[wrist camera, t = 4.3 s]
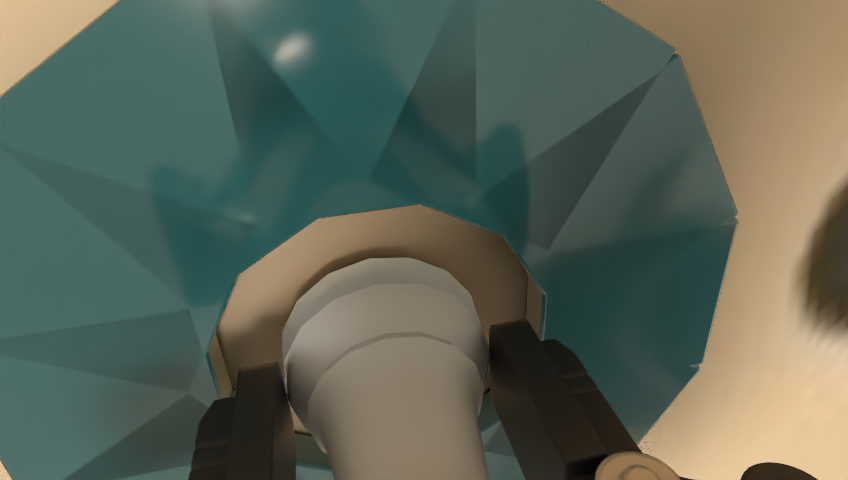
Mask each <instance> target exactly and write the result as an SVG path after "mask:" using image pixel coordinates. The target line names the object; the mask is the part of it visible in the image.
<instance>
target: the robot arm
mask: <svg viewBox="0 0 848 480" xmlns="http://www.w3.org/2000/svg"><path fill="white" fill-rule="evenodd" d="M489 383H490V390H491V396H492V400H493V403H494V406H495V409H496V412H497V414H498V416H499V419H500V421H501V423H502V426H503V428H504V431H505V433H506V435H507V438H508V440H509V442H510V445H511V447H512V449H513V452H514V454H515V456H516V459H517V461H518V463H519V466H520V468H521V471H522V473H523V475H524V478H525V480H693V479H687V478H683V477H680V476H678V475H677V474H676V472H675V471H674V470H673V469H671V468H670V467H669V466H668V465H667V464H665V463H664V462H662V461H661V460H659V459H657V458H655V457H652V456H650V455H647V454H643V453H642V452H641V450H640V449H639V448H638V446H637V445H636V443H635V442H634V440H633V439H632V437H631V436H630V434H629V433H628V431H627V430H626V428H625V427H624V425H623V424H622V422H621V421H620V419H619V418H618V416H617V415H616V413H615V412H614V410H613V409H612V407H611V406H610V404H609V403H608V401H607V400H606V399H605V397H604V396H603V394H602V393H601V391H598V387H597V385H596V384H595V382H594V381H593V379H592V378H591V376H590V375H588V373H587V370H586V369H585V367H584V366H583V364H582V363H581V361H580V360H579V358H578V357H577V355H576V354H575V353H574V352H573V351H572V350H570V349H569V348H567V347H566V346H564V345H563V344H562V343H560V342H559V341H557V340H556V339H550V340H545V341H540V339H539V338H538V336H537V334H536V333H535V331H534V330H533V328H532V326H531V325H530V323H529V322H528V321H527V320H526V319H522V320H516V321H510V322H504V323H499V324H493V325H491V326H490V331H489ZM188 480H296V445H295V433H294V425H293V419H292V414H291V410H290V406H289V402H288V398H287V393H286V389H285V385H284V381H283V376H282V372H281V368H280V365H279V363H278V362H273V363H267V364H262V365H256V366H250V367H245V368H240V369H239V372H238V379H237V387H236V395H235V396H234V397H229V398H223V399H218V400H214V401H213V403H212V404H211V406H210V407H209V409H208V410H207V412H206V413H205V415H204V416H203V418H202V419H201V421H200V422H199V426H198V431H197V436H196V442H195V451H194V452H193V457H192V463H191V471H190V473H189V479H188ZM741 480H818V479H816V478H814V477H813V476H811V475H810V474H808V473H806V472H804V471H802V470H800V469H797V468H795V467H792V466H788V465H785V464H780V463H769V462H768V463H760V464H756V465H753V466H751V467H749V468H748V469H747V470H746V471H745V472H744V474H743V475H742V477H741Z"/></svg>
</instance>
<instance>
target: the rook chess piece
mask: <svg viewBox="0 0 848 480" xmlns="http://www.w3.org/2000/svg"><path fill="white" fill-rule="evenodd" d="M282 356H283V366H284V368H285V389H286V393H287V397H288V399H289V402H290V404H291V406H292V408H293V409H294V411H295V413H296V414H297V416H298V417H299V419H300V421H301V422H302V424H303V425H304V427H305V429H306V430H307V431H308V432H310V433H311V434H312V436H313V438H314V439H315V441H316V442H317V444H318V446H319V447H320V449H321V450H322V451H323V452H325V453H326V454H328V457H329V460H330V464H331V469H332V473H333V477H334V480H490V479H489V474H488V469H487V464H486V458H485V453H484V448H483V443H482V438H481V433H480V428H479V423H478V416H479V414H480V410H481V404H482V399H483V393H484V387H485V382H486V377H487V371H488V366H489V347H488V344H487V341H486V338H485V335H484V332H483V329H482V326H481V322H480V319H479V317H478V314H477V311H476V308H475V305H474V302H473V299H472V296H471V293H470V292H469V291H468V290H466V289H465V288H464V287H463V286H462V285H461V284H460V283H459V282H458V281H457V280H456V279H455V278H454V277H453V276H452V275H451V274H450V273H449V272H448V271H447V270H444V269H442V268H439V267H436V266H433V265H430V264H428V263H425V262H422V261H419V260H416V259H414V258H411V257H410V258H368V259H366V260H363V261H360V262H358V263H355V264H352V265H350V266H347V267H344V268H342V269H339V270H336V271H334V272H331V273H328V274H327V275H326V276H325V277H324V278H322V279H321V280H320V281H319V282H318V283H317V284H316V285H314V286H313V287H312V288H311V289H310V290H309V291H307V292H306V293H305V294H304V295H303V296H302V297H300V298H299V299H298V300H297V302H296V304H295V306H294V308H293V310H292V312H291V314H290V316H289V319H288V321H287V323H286V325H285V327H284V329H283V331H282Z"/></svg>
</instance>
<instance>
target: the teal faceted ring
mask: <svg viewBox="0 0 848 480" xmlns="http://www.w3.org/2000/svg"><path fill="white" fill-rule="evenodd" d="M675 50H676V49H675V47H674V46H672V45H671V44H669V43H667V42H666V41H664V40H663V39H661V38H659V37H658V36H656V35H655V34H653V33H651V32H650V31H648V30H646V29H645V28H643V27H642V26H640V25H638V24H637V23H635V22H633V21H632V20H630V19H629V18H627V17H625V16H624V15H622V14H621V13H619V12H617V11H616V10H614V9H612V8H611V7H609V6H608V5H606V4H604V3H603V2H601V1H599V0H118V1H117V2H115V3H114V4H113V5H112V6H110V7H109V8H108V9H107V10H106V11H104V12H103V13H102V14H101V15H99V16H98V17H97V18H96V19H94V20H93V21H92V22H91V23H89V24H88V25H87V26H86V27H84V28H83V29H82V30H81V31H80V32H78V33H77V34H76V35H75V36H73V37H72V38H71V39H70V40H68V41H67V42H66V43H65V44H63V45H62V46H61V47H60V48H58V49H57V50H56V51H55V52H54V53H52V54H51V55H50V56H49V57H47V58H46V59H45V60H44V61H42V62H41V63H40V64H39V65H37V66H36V67H35V68H34V69H32V70H31V71H30V72H29V73H28V74H26V75H25V76H24V77H23V78H21V79H20V80H19V81H18V82H16V83H15V84H14V85H13V86H11V87H10V88H9V89H8V90H6V91H5V92H4V93H3V94H2V95H0V461H1V462H2V464H3V465H4V467H5V469H6V470H7V472H8V473H9V475H10V477H11V478H12V480H188V479H189V473H190V471H191V463H192V457H193V452H194V451H195V442H196V436H197V431H198V426H199V422H200V421H201V419H202V418H203V416H204V415H205V413H206V412H207V410H208V409H209V407H210V406H211V404H212V403H213V401H214V400H218V399H223V398H229V397H234V396H235V395H236V391H235V390H234V389H232V385H231V382H230V379H229V375H228V372H227V369H226V365H225V362H224V359H223V355H222V352H221V349H220V345H219V342H218V339H217V335H216V330H217V328H218V325H219V323H220V320H221V318H222V315H223V313H224V310H225V308H226V305H227V303H228V301H229V298H230V296H231V293H232V291H233V288H234V286H235V283H236V281H237V278H238V276H239V274H240V273H242V272H243V271H244V270H246V269H247V268H249V267H250V266H251V265H253V264H254V263H256V262H257V261H258V260H260V259H261V258H263V257H264V256H265V255H267V254H268V253H270V252H271V251H273V250H274V249H275V248H277V247H278V246H280V245H281V244H282V243H284V242H285V241H287V240H288V239H289V238H291V237H292V236H294V235H295V234H296V233H298V232H299V231H301V230H302V229H304V228H305V227H306V226H308V225H309V224H311V223H312V222H313V221H315V220H316V219H318V218H325V217H332V216H339V215H346V214H354V213H361V212H368V211H375V210H382V209H389V208H397V207H404V206H411V205H418V204H421V205H423V206H426V207H429V208H431V209H434V210H437V211H439V212H442V213H444V214H447V215H450V216H452V217H455V218H458V219H460V220H463V221H466V222H468V223H471V224H473V225H476V226H479V227H481V228H484V229H487V230H489V231H492V232H495V233H497V234H500V235H502V237H503V238H504V240H505V241H506V243H507V244H508V246H509V247H510V249H511V250H512V251H513V253H514V254H515V256H516V257H517V259H518V260H519V262H520V263H521V265H522V266H523V268H524V269H525V270H526V272H527V273H528V285H527V308H526V320H527V321H528V322H529V323H530V325H531V326H532V328H533V330H534V331H535V333H536V334H537V336H538V338H539V339H540V341H545V340H550V339H556V340H557V341H559V342H560V343H562V344H563V345H564V346H566V347H567V348H569V349H570V350H572V351H573V352H574V353H575V354H576V355H577V357H578V358H579V360H580V361H581V363H582V364H583V366H584V367H585V369H586V370H587V373H588V375H590V376H591V378H592V379H593V381H594V382H595V384H596V385H597V387H598V391H601V393H602V394H603V396H604V397H605V399H606V400H607V401H608V403H609V404H610V406H611V407H612V409H613V410H614V412H615V413H616V415H617V416H618V418H619V419H620V421H621V422H622V424H623V425H624V427H625V428H626V430H627V431H628V433H629V434H630V436H631V437H632V439H633V440H634V442H635V443H636V445H638V444H639V443H640V442H641V440H642V439H643V438H644V437H645V436H646V434H647V433H648V432H649V431H650V429H651V428H652V427H653V426H654V425H655V423H656V422H657V421H658V420H659V419H660V417H661V416H662V415H663V414H664V412H665V411H666V410H667V409H668V408H669V406H670V405H671V404H672V403H673V402H674V400H675V399H676V398H677V397H678V395H679V394H680V393H681V392H682V391H683V389H684V388H685V387H686V386H687V384H688V383H689V382H690V381H691V380H692V378H693V377H694V376H695V375H696V374H697V372H698V371H699V370H700V366H699V365H701V364H702V363H703V362H704V358H705V354H706V350H707V345H708V341H709V337H710V333H711V329H712V325H713V321H714V317H715V313H716V309H717V305H718V301H719V297H720V293H721V289H722V285H723V281H724V277H725V272H726V268H727V264H728V260H729V256H730V252H731V248H732V244H733V240H734V236H735V232H736V228H737V224H738V220H737V219H736V218H735V217H736V216H737V215H738V212H737V209H736V207H735V204H734V201H733V199H732V196H731V193H730V190H729V188H728V185H727V182H726V179H725V177H724V174H723V171H722V169H721V166H720V163H719V160H718V158H717V155H716V152H715V150H714V147H713V144H712V141H711V139H710V136H709V133H708V130H707V128H706V125H705V122H704V120H703V117H702V114H701V111H700V109H699V106H698V103H697V100H696V98H695V95H694V92H693V90H692V87H691V84H690V81H689V79H688V76H687V73H686V70H685V68H684V65H683V62H682V60H681V57H680V55H679V54H678V53H675ZM478 423H479V428H480V433H481V438H482V443H483V448H484V453H485V458H486V464H487V469H488V474H489V479H490V480H525V478H524V475H523V473H522V471H521V468H520V466H519V463H518V461H517V459H516V456H515V454H514V452H513V449H512V447H511V445H510V442H509V440H508V438H507V435H506V433H505V431H504V428H503V426H502V423H501V421H500V419H499V416H498V414H497V412H496V409H495V406H494V403H493V400H492V396H491V390H490V391H489V392H487V393H486V394H484V395H483V399H482V404H481V410H480V414H479V416H478ZM295 445H296V480H334V477H333V473H332V469H331V464H330V460H329V457H328V454H326V453H325V452H323V451H322V450H321V449H320V447H319V446H318V444H317V442H316V441H315V439H314V438H313V436H308V435H303V434H297V433H295Z"/></svg>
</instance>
